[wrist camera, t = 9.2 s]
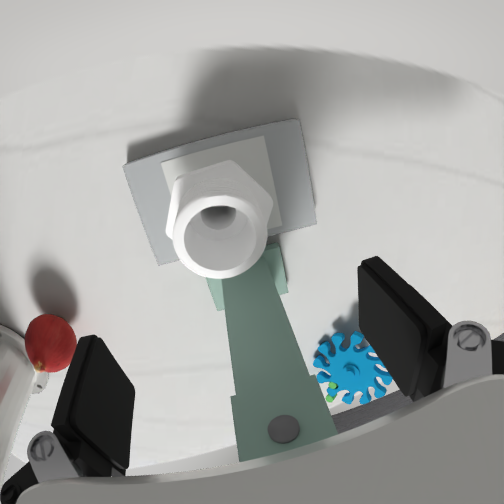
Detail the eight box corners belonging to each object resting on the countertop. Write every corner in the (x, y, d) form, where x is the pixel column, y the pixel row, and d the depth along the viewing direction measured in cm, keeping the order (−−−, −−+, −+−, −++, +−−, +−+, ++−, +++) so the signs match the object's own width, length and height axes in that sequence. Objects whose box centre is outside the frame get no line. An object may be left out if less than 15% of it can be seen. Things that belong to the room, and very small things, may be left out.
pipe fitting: (169, 228, 25) (154, 284, 18) (186, 141, 21) (174, 163, 14) (244, 242, 26) (258, 300, 19) (269, 159, 23) (295, 190, 16)
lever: (256, 453, 15) (266, 506, 12) (241, 426, 13) (252, 490, 10) (516, 339, 16) (543, 369, 12) (531, 302, 14) (562, 332, 11)
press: (184, 315, 30) (185, 517, 12) (126, 162, 23) (-34, 319, 5) (319, 280, 31) (419, 456, 13) (294, 118, 23) (506, 177, 5)
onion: (73, 347, 30) (54, 399, 23) (33, 321, 28) (7, 369, 21) (92, 319, 29) (71, 374, 22) (49, 289, 27) (18, 339, 20)
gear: (340, 318, 31) (409, 374, 28) (357, 299, 36) (417, 348, 32) (292, 376, 37) (350, 424, 33) (313, 355, 41) (365, 398, 38)
